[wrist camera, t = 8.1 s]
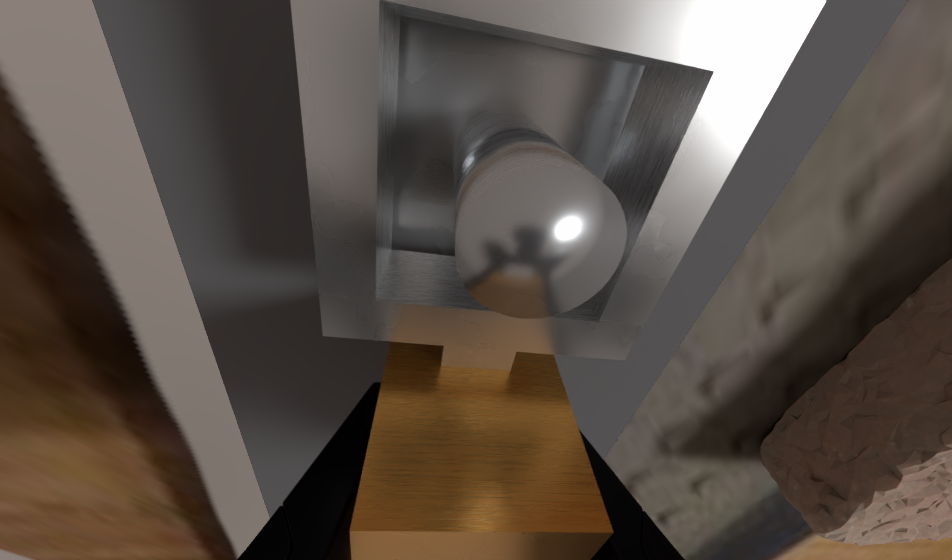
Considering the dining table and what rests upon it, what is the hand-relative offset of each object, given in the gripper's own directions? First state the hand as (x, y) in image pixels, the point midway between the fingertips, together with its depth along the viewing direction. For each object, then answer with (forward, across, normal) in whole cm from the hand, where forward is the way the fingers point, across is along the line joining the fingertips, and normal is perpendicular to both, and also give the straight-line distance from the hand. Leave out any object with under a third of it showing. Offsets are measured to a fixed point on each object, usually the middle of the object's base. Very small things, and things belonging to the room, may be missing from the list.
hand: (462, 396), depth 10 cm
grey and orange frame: (+1, 0, -2) cm, 3 cm away
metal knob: (+2, 0, -6) cm, 7 cm away
